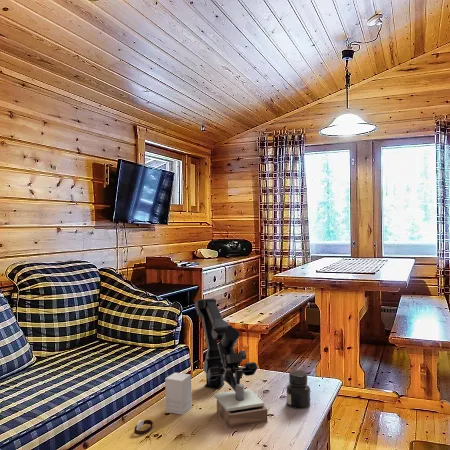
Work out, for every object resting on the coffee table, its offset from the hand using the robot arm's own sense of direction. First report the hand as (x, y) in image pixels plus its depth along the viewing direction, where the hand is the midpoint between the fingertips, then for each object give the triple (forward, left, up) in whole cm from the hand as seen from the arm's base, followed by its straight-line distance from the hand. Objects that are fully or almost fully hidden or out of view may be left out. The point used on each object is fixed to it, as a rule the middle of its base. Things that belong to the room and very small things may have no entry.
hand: (237, 392), depth 166 cm
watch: (-23, -26, -8) cm, 36 cm away
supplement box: (-21, -7, -8) cm, 23 cm away
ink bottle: (+18, +16, -8) cm, 25 cm away
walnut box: (+2, -2, -7) cm, 8 cm away
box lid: (+1, 0, -3) cm, 3 cm away
